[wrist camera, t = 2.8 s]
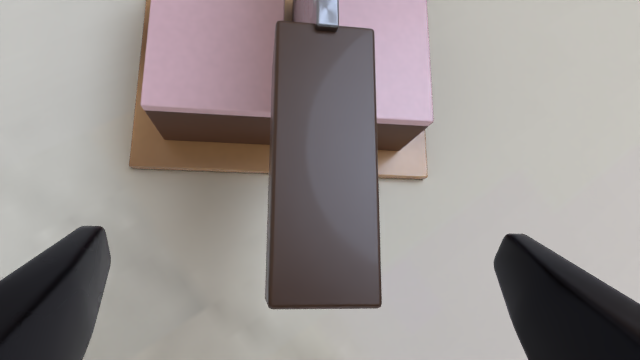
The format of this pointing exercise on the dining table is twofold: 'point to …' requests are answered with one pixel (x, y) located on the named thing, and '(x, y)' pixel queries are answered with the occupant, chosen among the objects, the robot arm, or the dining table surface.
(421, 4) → the cake
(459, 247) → the dining table surface
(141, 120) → the cake board
